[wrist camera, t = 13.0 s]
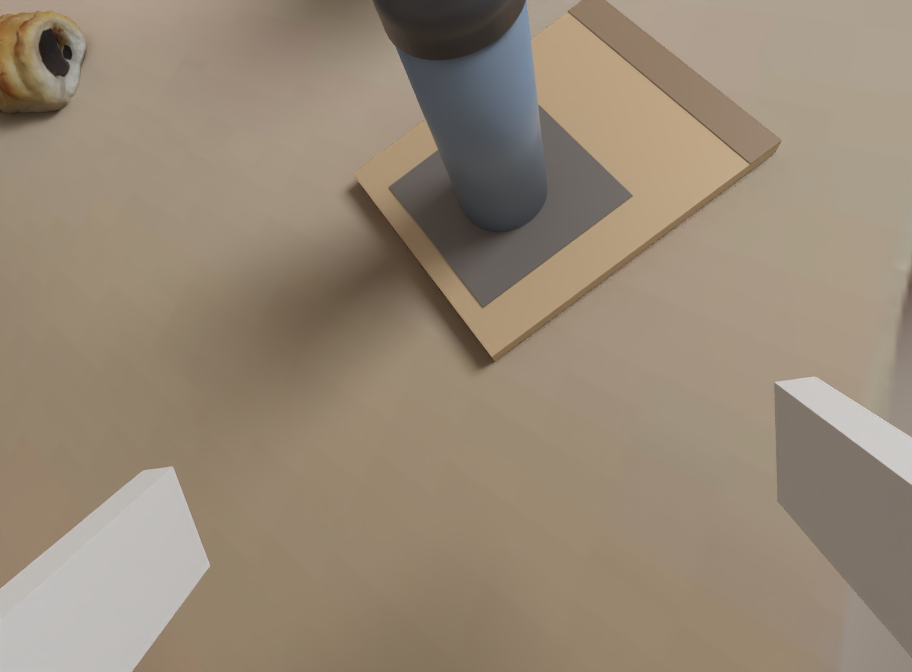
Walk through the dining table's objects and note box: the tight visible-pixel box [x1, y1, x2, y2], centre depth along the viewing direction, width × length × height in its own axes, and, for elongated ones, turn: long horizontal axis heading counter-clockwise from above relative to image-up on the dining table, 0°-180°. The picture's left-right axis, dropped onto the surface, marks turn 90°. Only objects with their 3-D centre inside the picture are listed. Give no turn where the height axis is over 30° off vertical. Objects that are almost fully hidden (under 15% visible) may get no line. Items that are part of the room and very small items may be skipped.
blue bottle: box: [373, 0, 547, 232], centre depth 19 cm, size 4×4×12 cm
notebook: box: [353, 0, 782, 361], centre depth 25 cm, size 12×15×1 cm
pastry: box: [0, 11, 87, 114], centre depth 35 cm, size 9×7×4 cm
